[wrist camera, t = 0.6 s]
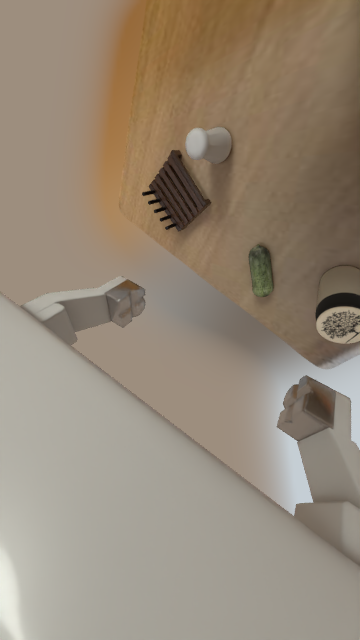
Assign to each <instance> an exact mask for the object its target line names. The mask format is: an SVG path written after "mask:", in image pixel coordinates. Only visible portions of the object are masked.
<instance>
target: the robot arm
mask: <svg viewBox="0 0 360 640" xmlns="http://www.w3.org/2000/svg"><path fill="white" fill-rule="evenodd" d="M144 295H145V290H144V288H142V287H140V286H138V285H137V284H135V283H133V282H132V281H130V280H128V279H126V278H124V277H123V276H119V277H117V278H115V279H113V280H112V281H110V282H108V283H106V284H104V285H103V286H101V287H99V288H97V289H96V288H88V289H80V290H71V291H64V292H55V293H46V294H44V295H42V296H40V297H38V298H36V299H34V300H32V301H30V302H28V303H26V304H24V305H21V306H18V305H17V304H16V303H15V302H13V301H12V300H11V299H9V298H8V297H7V296H5V295H4V294H3V293H1V292H0V640H360V450H359V448H358V447H357V445H356V443H354V442H353V441H351V400H350V398H348V397H347V396H345V395H343V394H341V393H339V392H337V391H335V390H333V389H331V388H329V387H328V386H326V385H324V384H322V383H320V382H318V381H316V380H314V379H312V378H310V377H308V376H304V377H302V378H301V379H300V382H299V384H298V385H293V386H292V387H291V388H290V389H289V390H288V392H287V393H286V396H285V398H284V402H283V405H284V408H285V410H283V411H282V412H281V413H280V417H279V420H278V424H277V427H278V428H279V429H281V430H282V431H283V432H285V433H287V434H288V435H290V436H291V437H292V438H294V439H295V440H297V441H298V442H297V443H298V447H299V450H300V454H301V458H302V462H303V465H304V469H305V473H306V476H307V480H308V484H309V487H310V491H311V495H312V499H313V502H314V503H300V504H296V508H295V515H294V516H293V515H292V514H290V513H289V512H288V511H286V510H285V509H284V508H282V507H281V506H280V505H278V504H277V503H276V502H275V501H273V500H272V499H271V498H269V497H268V496H267V495H265V494H264V493H263V492H261V491H260V490H259V489H258V488H256V487H255V486H254V485H252V484H251V483H250V482H248V481H247V480H246V479H244V478H243V477H242V476H241V475H239V474H238V473H237V472H235V471H234V470H233V469H231V468H230V467H229V466H227V465H226V464H225V463H224V462H222V461H221V460H220V459H218V458H217V457H216V456H214V455H213V454H212V453H210V452H209V451H208V450H207V449H205V448H204V447H202V446H201V445H200V444H199V443H197V442H196V441H195V440H194V439H192V438H191V437H190V436H188V435H187V434H186V433H184V432H183V431H182V430H181V429H179V428H178V427H177V426H175V425H174V424H172V423H171V422H170V421H169V420H167V419H166V418H165V417H164V416H162V415H161V414H160V413H158V412H157V411H156V410H154V409H153V408H152V407H150V406H149V405H148V404H147V403H145V402H144V401H143V400H141V399H140V398H139V397H137V396H136V395H135V394H133V393H132V392H131V391H130V390H128V389H127V388H126V387H124V386H123V385H122V384H120V383H119V382H118V381H116V380H115V379H114V378H113V377H111V376H110V375H109V374H107V373H106V372H105V371H103V370H102V369H101V368H99V367H98V366H97V365H96V364H94V363H93V362H91V361H90V360H89V359H88V358H86V357H85V356H84V355H82V354H81V353H80V352H79V351H77V350H76V349H75V348H73V347H72V346H71V345H72V344H74V343H75V342H76V341H77V337H76V334H75V332H77V331H81V330H84V329H87V328H90V327H94V326H98V325H101V324H104V323H108V322H110V321H112V322H114V323H116V324H117V325H119V326H121V327H125V326H126V325H127V324H128V323H130V322H131V321H132V317H136V316H138V315H140V314H141V313H142V311H143V310H144V308H145V300H144V298H143V296H144Z"/></svg>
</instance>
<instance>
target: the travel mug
mask: <svg viewBox="0 0 360 640" xmlns="http://www.w3.org/2000/svg"><path fill="white" fill-rule="evenodd" d="M316 328H317V331H318V332H319V334H320V335H321V336H322V337H324V338H325V339H327V340H329V341H332V342H336V343H354V342H357V341H360V270H359V269H357V268H355V267H352V266H338V267H335V268H332V269H330V270H328V271H327V272H326V273H325V274H324V275H323V276H322V277H321V279H320V284H319V291H318V299H317V307H316Z"/></svg>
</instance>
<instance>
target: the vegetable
mask: <svg viewBox="0 0 360 640" xmlns="http://www.w3.org/2000/svg"><path fill="white" fill-rule="evenodd" d="M249 264H250V270H251V277H252V287H253V293H254V294H255V295H256V296H258V297H265V296H268V295H269V294H270V293H271V292H272V291H273V282H272V273H271V261H270V255H269V252H268V250H267V249H266V248H264V247H261V246H259V244H258V245H257V246H256V247H254V248H252V250H251V251H250V253H249Z"/></svg>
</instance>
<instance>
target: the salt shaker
mask: <svg viewBox="0 0 360 640" xmlns="http://www.w3.org/2000/svg"><path fill="white" fill-rule="evenodd" d="M230 150H231V136H230V134H229V132H228V131H227V130H226V129H225V128H223V127H216V128H213V129H210V130H207V131H205V130H204V129H202V128H194V129H193V130H191V131H190V132H189V134H188V136H187V138H186V151H187V153H188V156H190V157H191V158H192V159H194V160H200V159H202V158H204V159H206V160H208V161H209V162H211V163H216V164H218V163H220V162H222V161H224V160H225V159H226V158H227V156H228V155H229V153H230Z"/></svg>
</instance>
